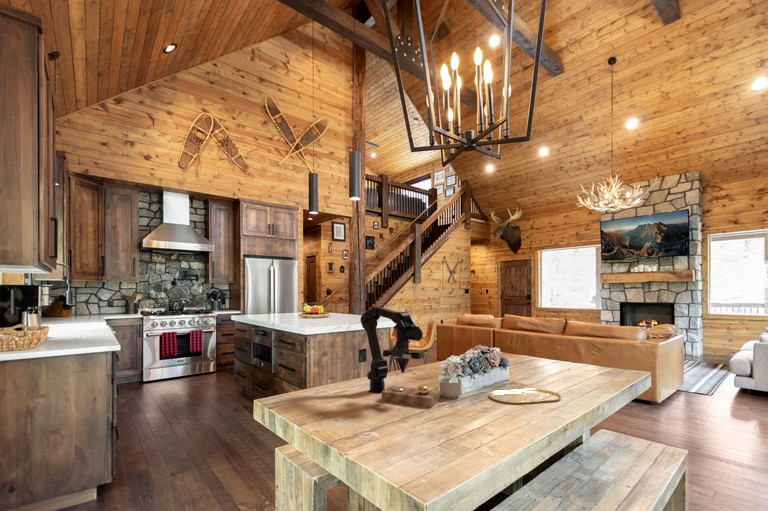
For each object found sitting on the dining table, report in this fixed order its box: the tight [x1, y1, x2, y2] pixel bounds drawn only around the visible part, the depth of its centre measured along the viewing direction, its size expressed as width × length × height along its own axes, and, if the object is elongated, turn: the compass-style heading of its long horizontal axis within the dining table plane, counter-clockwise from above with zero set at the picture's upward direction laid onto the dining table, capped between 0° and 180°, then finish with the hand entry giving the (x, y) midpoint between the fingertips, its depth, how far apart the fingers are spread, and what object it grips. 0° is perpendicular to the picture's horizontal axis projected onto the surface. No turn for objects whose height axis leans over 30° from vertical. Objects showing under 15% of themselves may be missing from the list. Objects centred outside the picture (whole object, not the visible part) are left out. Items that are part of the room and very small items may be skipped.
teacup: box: [438, 376, 463, 399], centre depth 186 cm, size 14×11×8 cm
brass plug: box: [417, 384, 429, 395], centre depth 175 cm, size 5×5×3 cm
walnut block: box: [381, 385, 441, 409], centre depth 178 cm, size 24×12×4 cm, turn 64°
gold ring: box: [488, 388, 562, 405], centre depth 183 cm, size 19×35×2 cm, turn 103°
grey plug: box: [394, 386, 404, 392], centre depth 180 cm, size 5×5×3 cm
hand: (402, 372), depth 180 cm, fingers closed
